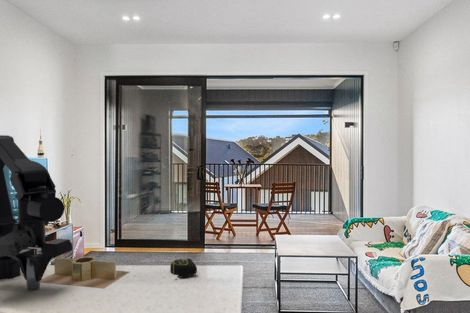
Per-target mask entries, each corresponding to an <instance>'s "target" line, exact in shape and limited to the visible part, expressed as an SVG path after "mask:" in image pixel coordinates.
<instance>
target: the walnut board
mask: <svg viewBox="0 0 470 313" xmlns="http://www.w3.org/2000/svg"><path fill="white" fill-rule="evenodd" d="M129 273H130V271H124V270H116V279H115V280H112V279H101V278H93V279H90V280H85V281H74V280H72V276H67V275H55V272H54V273H53V274H50V275H48V276H46V277H42V279H41V281H40V284H41V283H43V284H54V285H61V286H62V285H63V286H64V285H65V286H73V287H85V288H93V289H95V288H96V289H106V288H107V287H108V286H110V285H112V284H113V283H115V282H117V281H118V280H120V279H122V278H123V277H124V276H126V275H128V274H129Z"/></svg>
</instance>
